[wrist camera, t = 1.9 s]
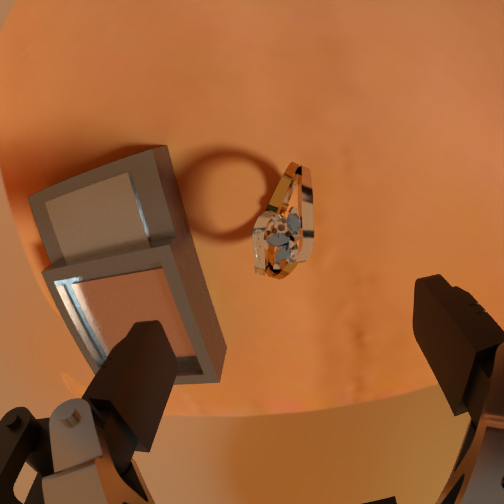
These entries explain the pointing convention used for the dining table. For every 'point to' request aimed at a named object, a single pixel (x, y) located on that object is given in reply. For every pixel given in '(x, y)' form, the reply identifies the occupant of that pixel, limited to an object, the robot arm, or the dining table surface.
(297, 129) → the dining table surface
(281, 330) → the dining table surface
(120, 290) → the grey tray
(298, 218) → the ring
